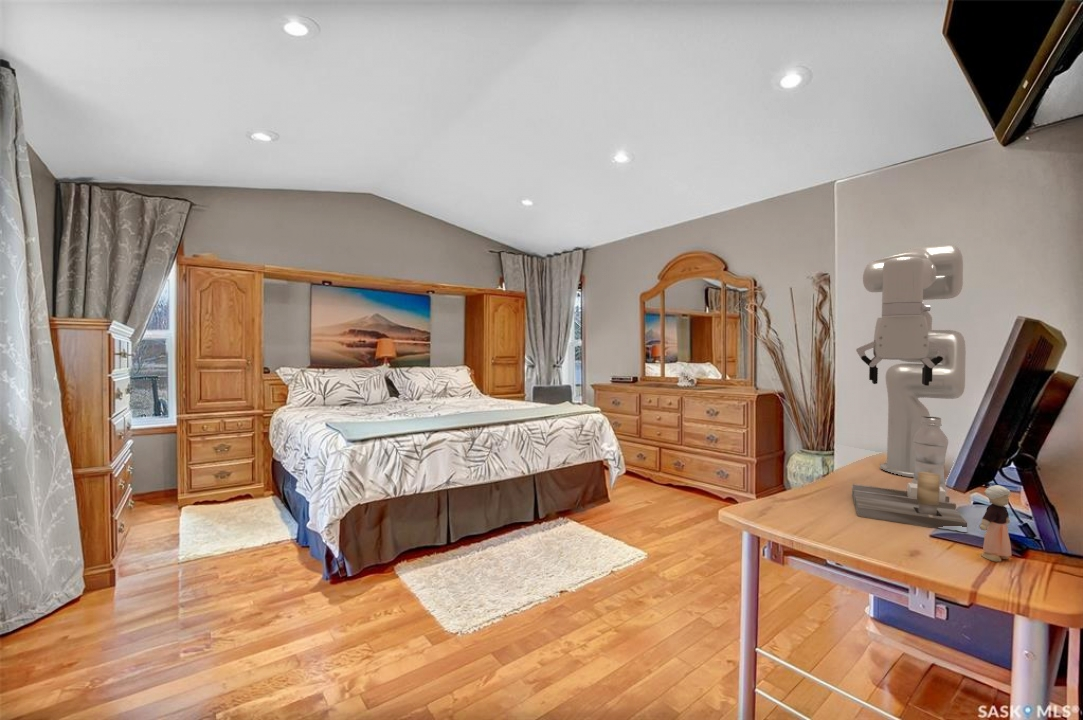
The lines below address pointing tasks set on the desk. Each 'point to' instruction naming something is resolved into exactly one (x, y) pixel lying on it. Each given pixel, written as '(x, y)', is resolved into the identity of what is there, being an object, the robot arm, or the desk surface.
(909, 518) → the grey ridged panel
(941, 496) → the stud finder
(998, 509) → the grandmother figurine
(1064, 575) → the desk surface
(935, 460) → the plastic bottle
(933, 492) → the tan cylinder
